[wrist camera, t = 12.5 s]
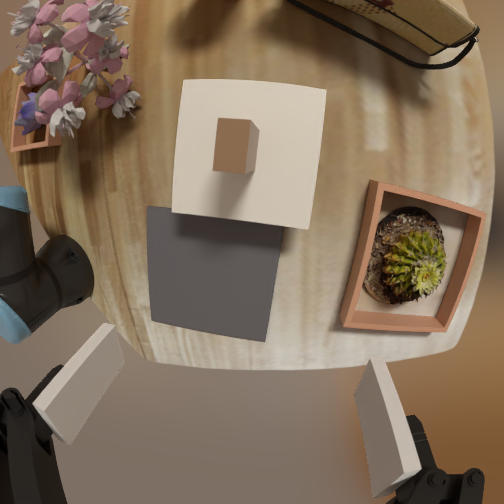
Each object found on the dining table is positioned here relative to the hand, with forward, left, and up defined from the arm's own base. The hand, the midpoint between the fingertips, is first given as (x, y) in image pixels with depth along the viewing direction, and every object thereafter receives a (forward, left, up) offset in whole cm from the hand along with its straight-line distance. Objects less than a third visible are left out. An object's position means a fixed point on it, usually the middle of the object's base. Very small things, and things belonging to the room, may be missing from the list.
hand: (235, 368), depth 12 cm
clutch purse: (+11, +36, -31) cm, 48 cm away
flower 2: (-28, +23, -31) cm, 47 cm away
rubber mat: (-9, -10, -30) cm, 33 cm away
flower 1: (-47, +19, -31) cm, 59 cm away
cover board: (-4, +11, -24) cm, 27 cm away
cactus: (+23, -2, -31) cm, 39 cm away
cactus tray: (+25, -2, -30) cm, 39 cm away
